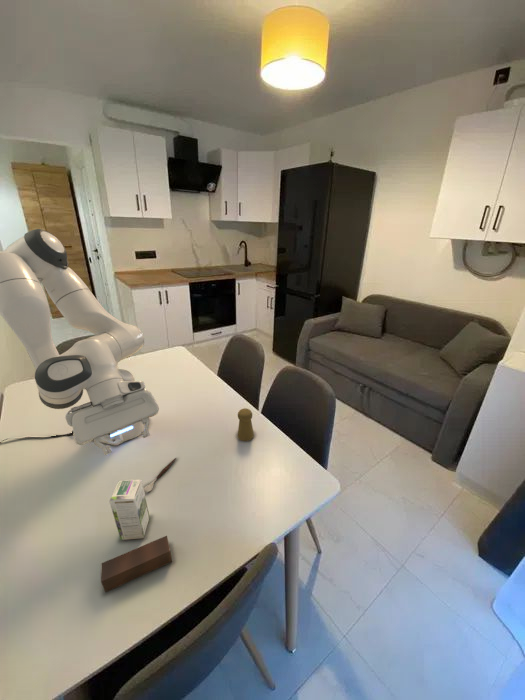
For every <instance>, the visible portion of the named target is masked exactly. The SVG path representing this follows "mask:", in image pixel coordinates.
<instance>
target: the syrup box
mask: <svg viewBox="0 0 525 700" xmlns="http://www.w3.org/2000/svg"><path fill="white" fill-rule="evenodd" d="M143 488H144V484H143V480H142V479H123V480H118V482H117V484H116V486H115V488H114V490H113V492H112V494H111V497H110V499H109V504H110V508H111V511H112V515H113V518H114V522H115V525H116V529H117V532H118V535H119V539H120V540H121V541H126V540H137V539H144V538H145V535H146V532H147V528H148V525H149V521H150V518H151V517H150V512H149V508H148V503H147V498H146V493H145V492H144V491H145V490H144V489H143Z"/></svg>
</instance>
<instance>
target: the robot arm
mask: <svg viewBox="0 0 525 700" xmlns="http://www.w3.org/2000/svg"><path fill="white" fill-rule="evenodd" d="M42 285H43V286H44V288H43V286H42ZM44 289H45V290H46V293H47V295H48V296H49V298H50V299H51V301H52V302H53V305H55V307H56V308H57V309H58V311H59V313H60V314H61V315H62V317H63V319H64V320H65V321H66V322H67V323H68V325H69V326H70V327H72V328H74V329H75V330H76V329H77V330H82V331H88V332H90V333H92V334H93V335H92V336H89V337H87V338H84V339H80V340H78V341H76V342H75V343H74V344H72V346H71V347H70V348H69V349H68V350H66V351H64V352H62V353H61V354H60V353H59V351H58V349H57V347H56V345H55V343H54V339H53V334H52V327H51V326H52V325H51V312H50V311H51V310H50V305H49V302H48V298H47V295H46V293H45V290H44ZM0 316H1V318H2V319H3V320H4V321H5V322H6V324H7V325H8V326H9V327H10V329H11V330H12V331H13V333H14V334H15V335H16V337H17V338H18V340H19V341H20V342H21V344H22V345H23V346H24V348H25V350H26V352H27V354H28V357H29V358H30V360H31V362H32V364H33V367H34V369H35V372H34V381H35V384H36V387H37V390H38V391H37V392H38V397H39V400H40V402H41V403H42V404H43V405H44V406H46V407H47V408H49V409H54V410H64V409H67V408H70V407H71V408H70V410H68V411H67V412H66V413H65V420H66V423H67V425H68V426H70V427H72V430H71V432H72V433H71V432H68V433H64V434H55V435H56V436H55V437H54V438H62V437H63V438H64V437H69V436H72V435H73V437H74V441H75V443H76V445H80V446H83V445H85V444H87V443H90V442H92V441H93V443H94V445H95V446H97V447H98V448H99V449H101V450H102V451H103V455H104V456H106V455H109V454H111V453H112V449H111V446H119V445H121V444H122V443H124V442H126V441H129V440H133V439H135V438H137V437H139V436H141V435H142V439H145V438H147V437H150V432H149V424H150V420H149V419H150V418H153V417H154V416H156V415H158V414H159V411H160V407H159V404H158V402H157V401H156V399H155V397H154V395H153V394H152V392H151V391H150V390H148V389H146V383H145V382H144V381H142V380H137V381H136V380H135V376H134V374H133V373H132V372H131V371H129V370H127V369H123V368H119V367H118V366H119V363H120V362H122V361H123V360H126V359H128V358H129V357H131V356H133V355H135V354H136V353H137V352H138V351H140V350H141V349H142V348H143V347H144V346H145V345H144V344H145V336H144V333H143V332H142V331H141V330H140V328H139V327H137V326H136V325H134V324H131V323H126V322H125V321H122V320H120V319H117V317H114V316H113V315H112V314H111V313H110V312H108V311H107V310H106V309H105V308H104V307H103V306H102V304H101V303H100V302H99V301H98V299H97V298H96V297H95V295H94V294H93V293H92V291H91V290H90V288H89V286H88V285H87V284H86V283H85V282H84V281H83V279H82V278H81V277H80V276H79V275H78V274H77V273H76V272H75V271H74V269H72V268H70V267H69V260H68V253H67V250H66V247H65V246H64V244H63V243H62V241H61V240H60V239H59V238H58V237H57V236H55V235H54V234H53V233H51V232H49V230H48V231H47V230H45V229H41V228H35V229H32V230H30V231H27V232H25V233H24V235H23V236H21V237H20V238H18V239H16V240H15V241H13V242H12V243H11V244H9V245H7V247H6V248H5V249H4V250H0ZM84 390H85V391H86V393H87V396H88V398H89V402H85V403H82V404H81V405H77V406H74V405H76V404H77V403H78V402H79V401H80V400H81V399H82V397H83V394H84ZM72 406H73V407H72ZM104 444H106V445H104Z"/></svg>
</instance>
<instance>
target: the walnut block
mask: <svg viewBox="0 0 525 700" xmlns="http://www.w3.org/2000/svg"><path fill="white" fill-rule="evenodd" d="M172 558H173V557H172V554H171V548H170V543H169V539H168V535H164V536H162V537H160V538H157V539H155V540H153V541H151V542H148V543H146V544H143V545H141V546H139V547H137V548H134V549H131V550H129V551H127V552H125V553H122V554H120V555H117V556H115V557H112V558H111V559H108V560H106V561H103V562H101V563H100V565H101V567H100V568H101V569H100V583H101V585H102V588H103V590H104V592H105V593H107V592H109V591H112V590H114V589H115V588H118V587H120V586H123V585H124V584H127V583H129V582H131V581H133V580H135V579H138V578H140V577H142V576H144V575H146V574H148V573H151V572H153V571H155V570H157V569H160V568H161V567H164V566H166V565H168V564H170V563H172V562H173V559H172Z"/></svg>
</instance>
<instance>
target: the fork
mask: <svg viewBox="0 0 525 700" xmlns="http://www.w3.org/2000/svg"><path fill="white" fill-rule="evenodd" d="M176 460H177V457H175V458H174V459H173V460H171V462H169V463H168V464H167V465H166V466H164V468H162V470H161V471H160V472H159V473H158V475H157V476H156V477H155V478H154V480H153V481H151V482H150V483H149V484H147V485H145V486H143V489H144V493H145V494H147V493H149V492H151V491H152V490H153V489H154V485H155V482H156V481H157V480H158V479H159V478H160V477H162V475H164V474H165V473H166V472H167V471H168V470H169V468H170V467H171V466H172V465H173V463H174V462H175V461H176Z"/></svg>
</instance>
